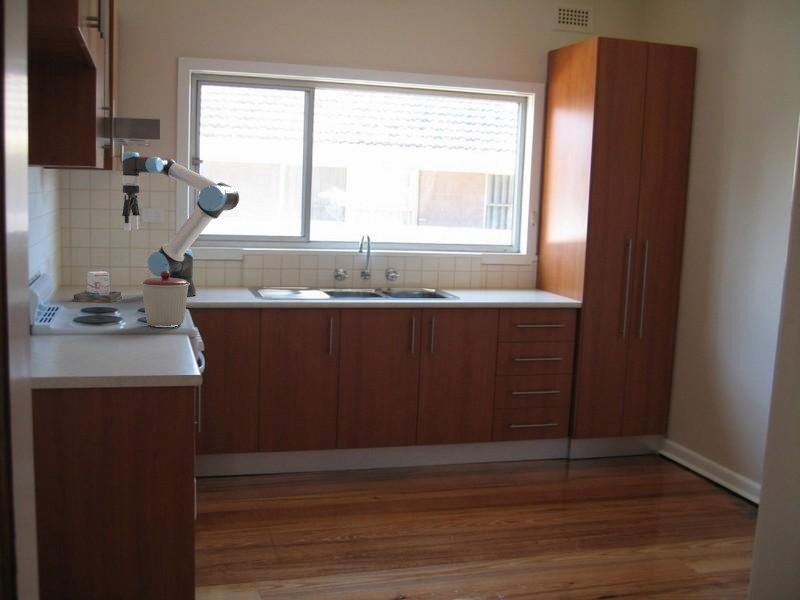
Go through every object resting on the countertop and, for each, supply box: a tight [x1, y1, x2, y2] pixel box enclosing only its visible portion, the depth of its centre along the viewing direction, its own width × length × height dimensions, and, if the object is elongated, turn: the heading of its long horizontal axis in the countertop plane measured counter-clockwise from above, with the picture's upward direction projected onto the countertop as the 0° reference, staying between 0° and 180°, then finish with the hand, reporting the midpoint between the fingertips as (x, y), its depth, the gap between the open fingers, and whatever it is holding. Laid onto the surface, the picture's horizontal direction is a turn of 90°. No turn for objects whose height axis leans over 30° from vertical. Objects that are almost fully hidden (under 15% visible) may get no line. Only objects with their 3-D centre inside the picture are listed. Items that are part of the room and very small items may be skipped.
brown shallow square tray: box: [72, 290, 123, 304], centre depth 382 cm, size 17×17×3 cm
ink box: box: [86, 270, 110, 295], centre depth 381 cm, size 9×5×12 cm, turn 139°
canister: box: [139, 271, 190, 326], centre depth 315 cm, size 18×18×21 cm
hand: (131, 229), depth 397 cm, fingers open, 13 cm apart
